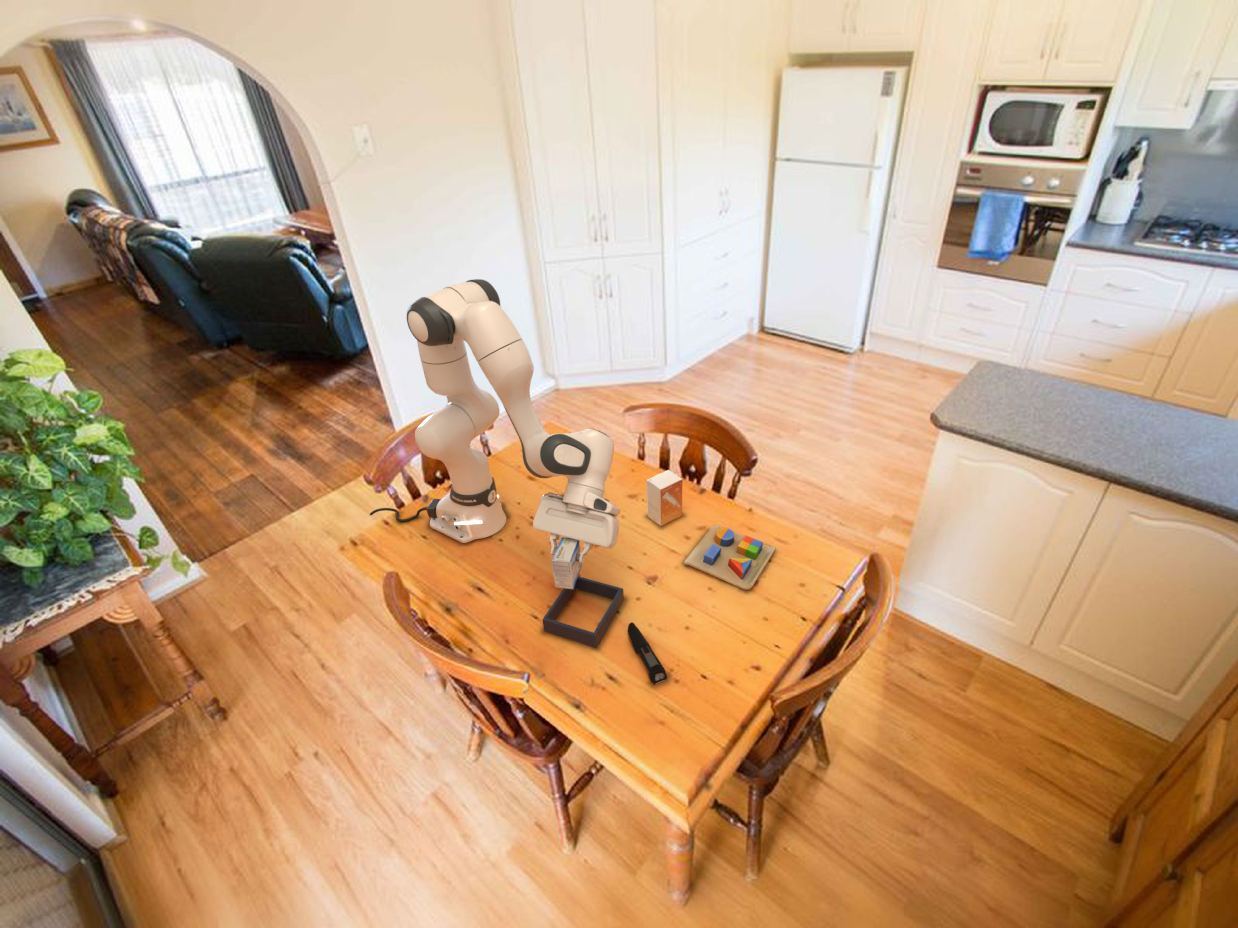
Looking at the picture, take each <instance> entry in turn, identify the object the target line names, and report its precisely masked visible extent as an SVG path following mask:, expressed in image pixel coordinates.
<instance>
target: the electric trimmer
mask: <svg viewBox="0 0 1238 928" xmlns="http://www.w3.org/2000/svg"><path fill="white" fill-rule="evenodd" d="M627 634H628V638H629V639H630V642H631V645H632V647H633V649H634V650H633V651H634V652H635V654H637V655H639V657H640V658H641V660H642V662H643V664H644V666H645V668H646V670H647V673H648V677H649V680H650V682H651V683H652V684H654V685H657V684H660V683H662V682H665V681H666V680H667V679H668V676H667V671H666V669H665V668H664V666H663V665H662V663H661V661H660V660H659V658H658V657H657V655H656V654H655V652H654V650H653V648H652V647H651V645H650V644H649V642H648V641H647V639H646V638H645V636H644V635H643V633H642V632H641V631H640V629H639V627H638V626H637V625H636V624H635V623H634V622H629V623H628V626H627Z"/></svg>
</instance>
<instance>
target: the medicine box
mask: <svg viewBox="0 0 1238 928" xmlns="http://www.w3.org/2000/svg"><path fill="white" fill-rule="evenodd" d="M580 542H581V541H579V540H575V539H571V538H567V537H564V536H561V538H560V539H559V543H558V544H557V546H558V547H557V549H556V552H555V554H554V555H552V556H553V557H552V559H551V567H552V575H553V582H554V587H555V588H559V589H564V588H566V589H574V586H575V583H576V581H577V578H578V576H579V575H580V572H581V569H582V566H583V565H582V564H583V563H580V562H577V561H575V559H576V555H577V554H581V544H580Z"/></svg>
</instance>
